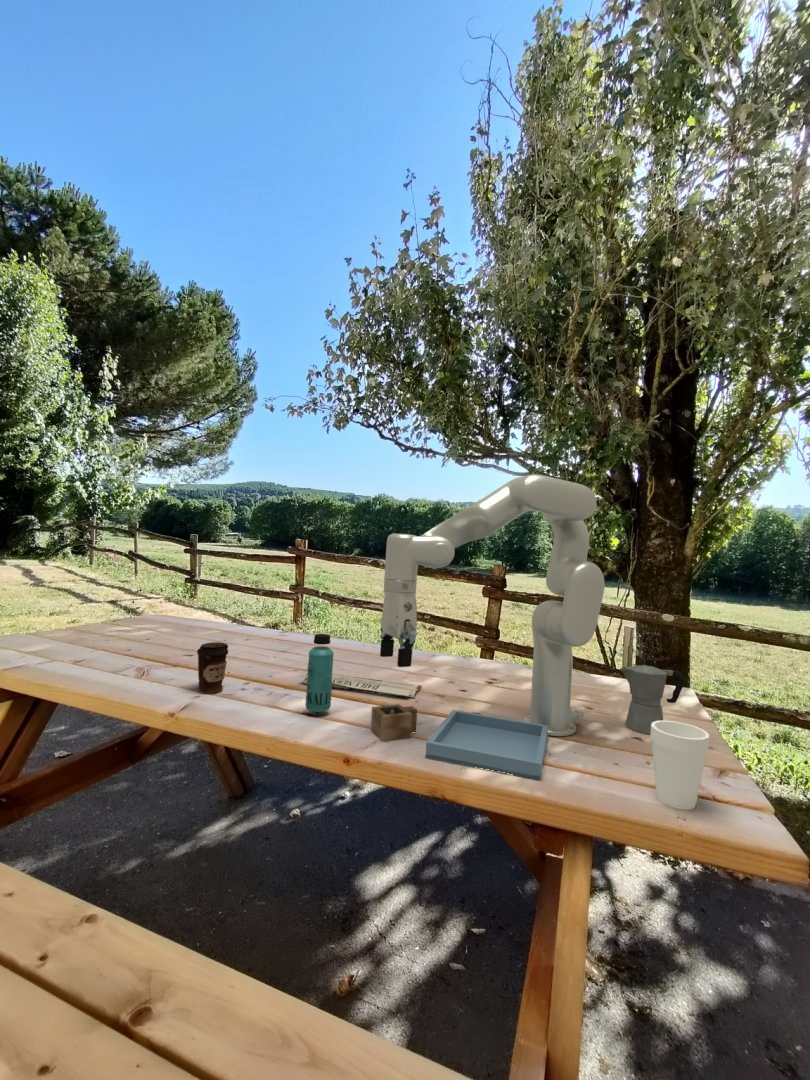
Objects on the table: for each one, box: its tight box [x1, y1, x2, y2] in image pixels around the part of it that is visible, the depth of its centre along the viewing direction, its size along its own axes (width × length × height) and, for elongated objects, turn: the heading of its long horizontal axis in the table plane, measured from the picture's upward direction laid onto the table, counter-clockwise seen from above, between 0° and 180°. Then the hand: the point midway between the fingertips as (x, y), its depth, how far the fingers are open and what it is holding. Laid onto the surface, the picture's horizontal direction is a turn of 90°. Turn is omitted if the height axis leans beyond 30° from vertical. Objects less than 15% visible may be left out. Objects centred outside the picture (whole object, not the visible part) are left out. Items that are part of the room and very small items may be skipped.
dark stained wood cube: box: [370, 703, 418, 743], centre depth 118 cm, size 10×7×6 cm
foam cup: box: [649, 720, 710, 811], centre depth 93 cm, size 10×9×13 cm
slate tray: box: [425, 709, 549, 781], centre depth 113 cm, size 23×23×3 cm
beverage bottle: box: [304, 633, 335, 713], centre depth 129 cm, size 6×7×20 cm
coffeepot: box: [619, 658, 686, 736], centre depth 131 cm, size 15×9×18 cm, turn 76°
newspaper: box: [299, 673, 423, 699], centre depth 153 cm, size 35×12×4 cm, turn 77°
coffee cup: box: [196, 641, 229, 694], centre depth 142 cm, size 9×8×13 cm
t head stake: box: [382, 704, 397, 714], centre depth 117 cm, size 3×1×6 cm, turn 116°
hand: (395, 661), depth 118 cm, fingers open, 9 cm apart
